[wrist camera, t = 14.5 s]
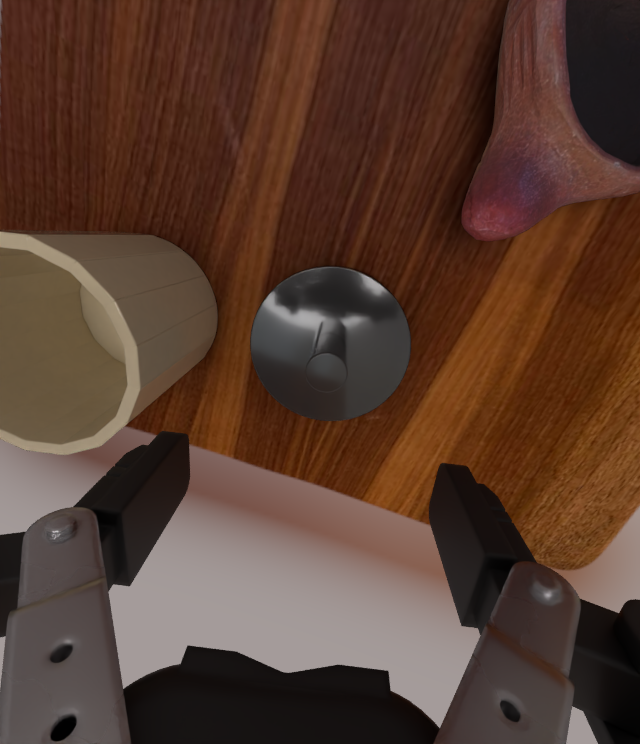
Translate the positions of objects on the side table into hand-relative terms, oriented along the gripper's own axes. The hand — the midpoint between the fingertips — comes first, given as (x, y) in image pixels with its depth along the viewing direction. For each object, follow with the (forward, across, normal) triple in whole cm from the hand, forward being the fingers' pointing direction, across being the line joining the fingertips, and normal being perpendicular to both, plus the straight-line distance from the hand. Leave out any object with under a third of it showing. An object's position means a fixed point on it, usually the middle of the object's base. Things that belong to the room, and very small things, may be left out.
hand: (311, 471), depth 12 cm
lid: (+14, 0, 0) cm, 14 cm away
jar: (+15, -13, +1) cm, 20 cm away
